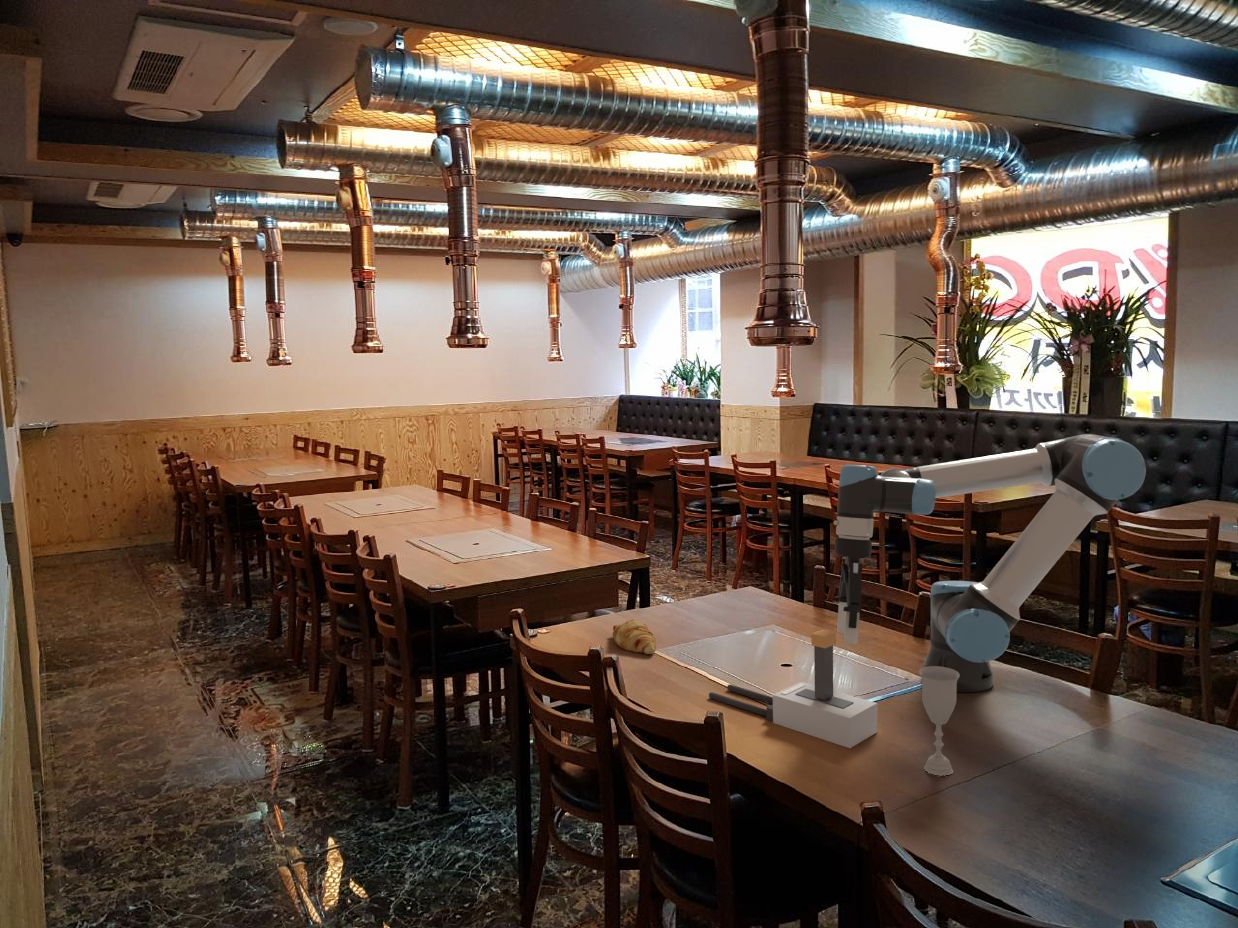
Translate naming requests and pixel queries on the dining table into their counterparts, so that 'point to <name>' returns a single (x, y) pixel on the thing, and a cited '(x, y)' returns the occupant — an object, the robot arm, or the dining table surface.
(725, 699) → the grey u-shaped fork
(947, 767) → the chalice
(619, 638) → the croissant
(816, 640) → the lever
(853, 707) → the box
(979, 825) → the dining table surface
